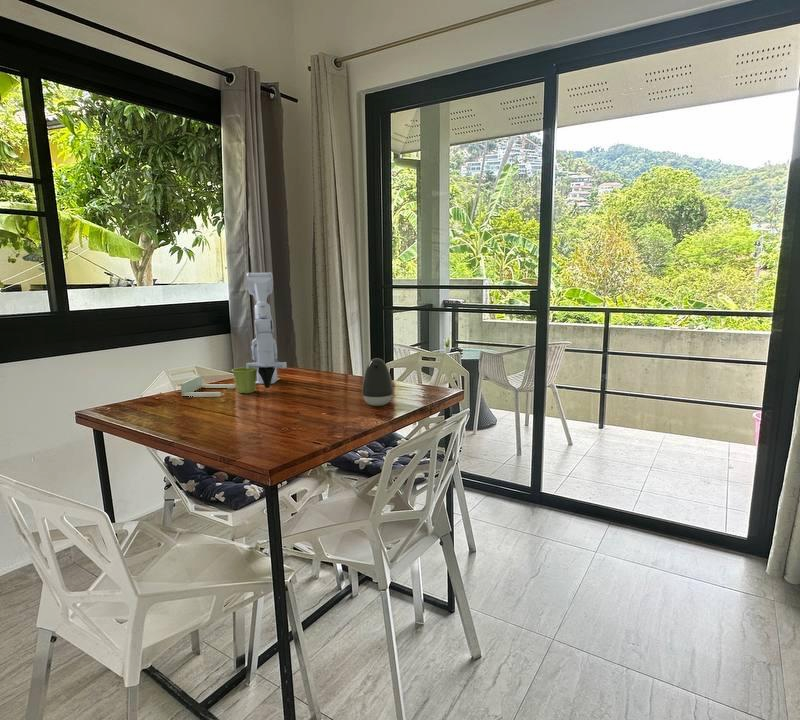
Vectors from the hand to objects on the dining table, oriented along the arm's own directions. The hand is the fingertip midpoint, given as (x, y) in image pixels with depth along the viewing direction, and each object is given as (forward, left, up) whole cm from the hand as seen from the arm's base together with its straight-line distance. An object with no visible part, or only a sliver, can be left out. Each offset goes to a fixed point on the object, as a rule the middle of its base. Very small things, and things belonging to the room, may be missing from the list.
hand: (267, 387), depth 189 cm
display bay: (0, -21, -2) cm, 21 cm away
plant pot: (0, -8, -2) cm, 8 cm away
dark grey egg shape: (+21, +43, -2) cm, 48 cm away
